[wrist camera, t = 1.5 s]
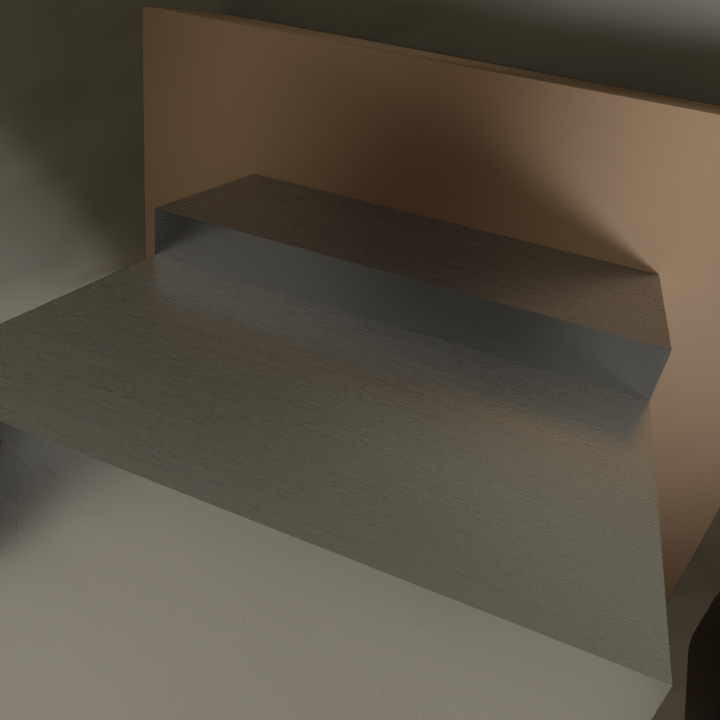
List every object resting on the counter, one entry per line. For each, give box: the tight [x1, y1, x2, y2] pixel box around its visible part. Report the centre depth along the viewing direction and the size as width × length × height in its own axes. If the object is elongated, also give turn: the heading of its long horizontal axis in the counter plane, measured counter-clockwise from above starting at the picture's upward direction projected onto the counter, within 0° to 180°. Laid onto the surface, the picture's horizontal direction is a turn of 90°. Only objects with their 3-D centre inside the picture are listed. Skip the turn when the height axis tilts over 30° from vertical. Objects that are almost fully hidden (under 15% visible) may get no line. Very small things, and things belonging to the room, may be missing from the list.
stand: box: [142, 6, 720, 604], centre depth 11 cm, size 10×10×2 cm
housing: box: [0, 174, 672, 720], centre depth 8 cm, size 6×6×6 cm
